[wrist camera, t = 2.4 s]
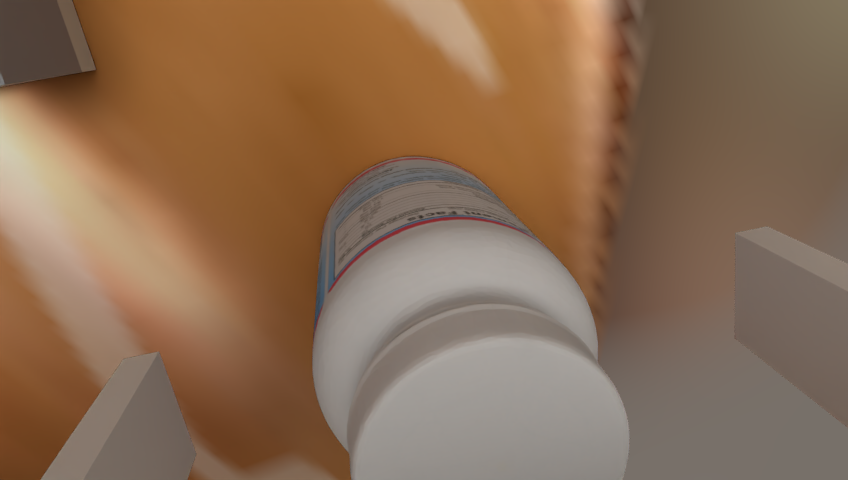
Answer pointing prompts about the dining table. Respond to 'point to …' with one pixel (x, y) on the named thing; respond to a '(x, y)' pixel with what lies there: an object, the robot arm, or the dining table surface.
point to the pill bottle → (455, 338)
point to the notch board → (41, 41)
